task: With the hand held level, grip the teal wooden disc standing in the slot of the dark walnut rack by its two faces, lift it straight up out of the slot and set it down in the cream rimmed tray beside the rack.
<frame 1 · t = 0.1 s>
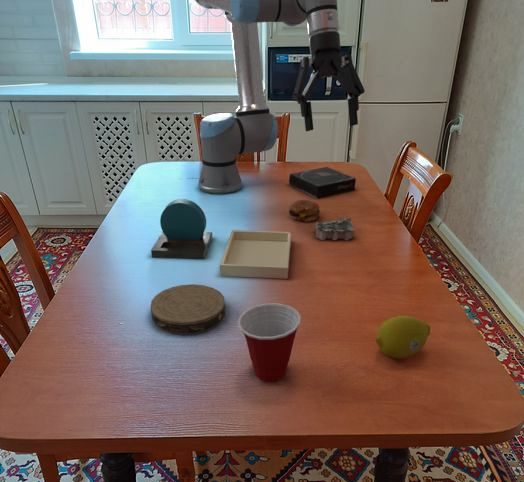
hand: (332, 128, 127), 28 cm above the table, tool tilted 20°, fingers open, 13 cm apart
tray: (257, 258, 128), on the table
burger: (304, 217, 152), on the table
egg carton: (333, 236, 140), on the table
rack: (183, 247, 134), on the table
disc: (183, 222, 132), point 6 cm above the table
plastic cup: (268, 373, 90), on the table
lemon: (399, 354, 95), on the table
black box: (321, 187, 174), on the table
wood log slice: (189, 314, 106), on the table
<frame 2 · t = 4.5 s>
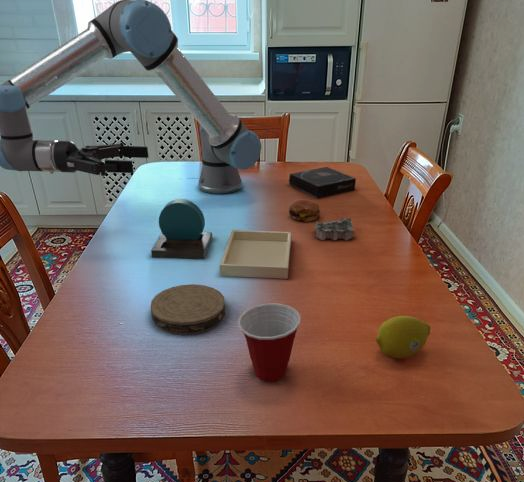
hand: (140, 159, 123), 22 cm above the table, tool horizontal, fingers open, 13 cm apart
disc: (181, 222, 132), point 6 cm above the table, touching rack
everything else where it was.
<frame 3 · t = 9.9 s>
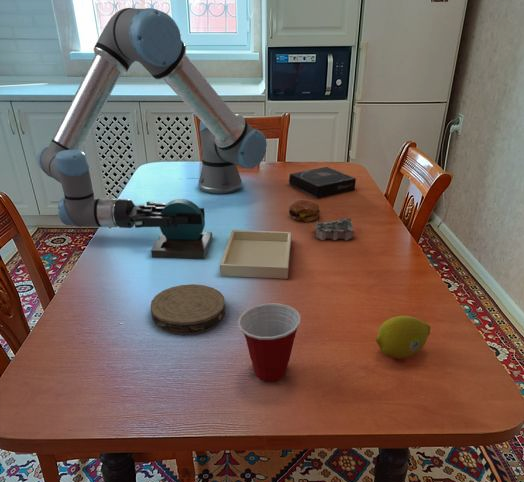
hand: (202, 216, 131), 8 cm above the table, tool horizontal, fingers closed on disc, 3 cm apart
disc: (181, 222, 132), point 6 cm above the table, touching gripper
everything else where it was.
when the fingers open (8 cm above the table, at t = 20.1 s): disc stays where it is, resting on tray.
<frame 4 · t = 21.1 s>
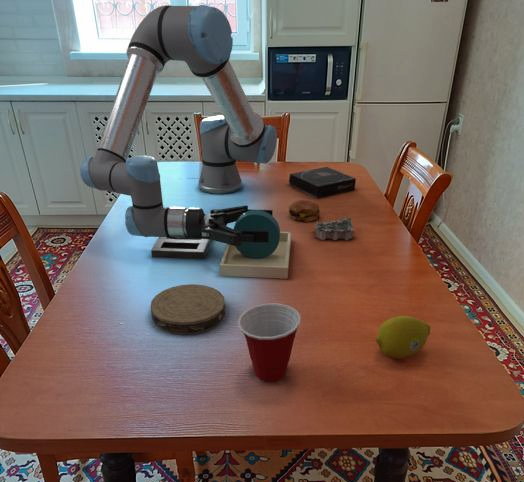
hand: (270, 225, 123), 9 cm above the table, tool horizontal, fingers open, 13 cm apart
disc: (256, 234, 125), point 7 cm above the table, touching tray
everything else where it was.
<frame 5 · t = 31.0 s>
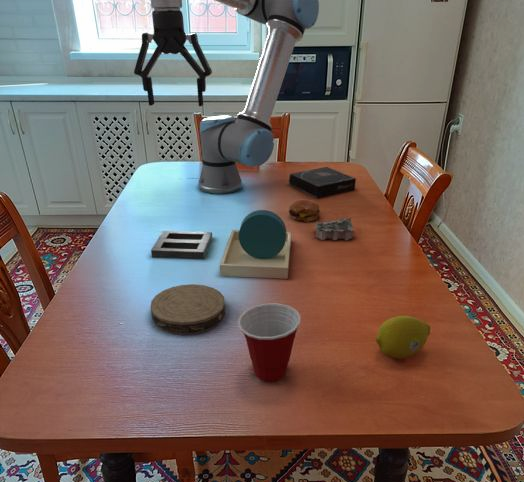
hand: (176, 105, 132), 32 cm above the table, tool pointing down, fingers open, 13 cm apart
disc: (262, 235, 124), point 7 cm above the table, tilted 12°, touching tray
everything else where it was.
at the end: disc inside the target area on the tray (1.1 cm from its centre), point 6.5 cm above the tray's base; disc touching tray; the gripper is holding nothing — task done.
